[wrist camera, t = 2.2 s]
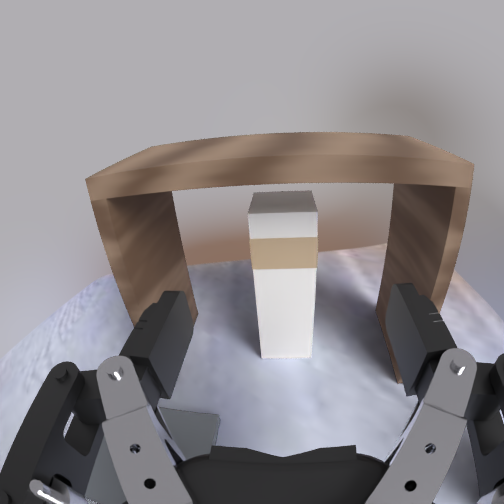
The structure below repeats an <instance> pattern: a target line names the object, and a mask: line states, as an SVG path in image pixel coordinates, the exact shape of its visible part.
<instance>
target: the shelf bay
mask: <svg viewBox="0 0 504 504" xmlns="http://www.w3.org/2000/svg"><path fill="white" fill-rule="evenodd" d="M473 171H474V164H473V163H471V162H469V161H467V160H464V159H462V158H460V157H458V156H456V155H454V154H451V153H449V152H447V151H445V150H442V149H440V148H437V147H435V146H433V145H430V144H427V143H425V142H423V141H420V140H418V139H415V138H412V137H410V136H401V135H387V134H372V133H345V132H302V133H301V132H299V133H271V134H255V135H242V136H229V137H219V138H210V139H201V140H193V141H185V142H178V143H171V144H165V145H159V146H153V147H150V148H147V149H145V150H143V151H141V152H139V153H136V154H134V155H132V156H130V157H128V158H126V159H123V160H122V161H119V162H117V163H115V164H113V165H112V166H109V167H107V168H105V169H103V170H101V171H99V172H98V173H96V174H94V175H92V176H90V177H88V178H86V179H85V180H86V184H87V188H88V192H89V196H90V200H91V204H92V208H93V211H94V215H95V218H96V222H97V225H98V229H99V232H100V235H101V239H102V242H103V245H104V248H105V251H106V254H107V257H108V260H109V263H110V266H111V269H112V272H113V275H114V277H115V280H116V283H117V285H118V288H119V291H120V293H121V296H122V299H123V301H124V304H125V306H126V309H127V311H128V313H129V316H130V318H131V321H132V323H133V325H134V327H135V325H136V323H137V322H139V318H140V316H141V315H142V313H143V311H144V310H145V309H146V308H148V307H149V306H150V305H151V304H152V303H157V302H158V300H159V299H160V297H161V295H162V293H163V292H164V291H184V293H185V295H186V298H187V302H188V305H189V309H190V312H191V316H192V319H193V327H194V324H195V321H196V318H197V315H198V311H197V307H196V303H195V299H194V294H193V290H192V286H191V282H190V278H189V273H188V269H187V264H186V260H185V255H184V251H183V246H182V241H181V237H180V232H179V227H178V222H177V217H176V212H175V206H174V201H173V196H172V191H176V190H187V189H198V188H210V187H211V188H212V187H226V186H240V185H241V186H242V185H261V184H283V183H284V184H286V183H337V182H338V183H394V190H393V201H392V211H391V221H390V229H389V236H388V243H387V250H386V257H385V263H384V269H383V275H382V280H381V286H380V291H379V296H378V301H377V306H376V310H375V311H376V314H377V317H378V320H379V323H380V326H381V329H382V332H383V335H384V338H385V341H386V345H387V348H388V351H389V354H390V358H391V361H392V365H393V368H394V372H395V376H396V379H397V383H398V384H399V383H403V381H402V378H401V375H400V371H399V368H398V364H397V361H396V358H395V355H394V352H393V349H392V345H391V342H390V339H389V336H388V333H387V330H386V324H385V318H386V312H387V308H388V303H389V298H390V293H391V288H392V286H393V284H401V283H412V284H413V285H414V286H415V288H416V290H417V292H418V294H419V295H425V296H426V297H427V298H429V299H430V300H431V301H432V302H433V303H434V305H435V306H436V308H437V310H438V313H440V311H441V308H442V305H443V302H444V299H445V296H446V293H447V290H448V287H449V284H450V281H451V277H452V274H453V271H454V267H455V264H456V259H457V256H458V252H459V248H460V244H461V240H462V235H463V231H464V227H465V222H466V217H467V211H468V206H469V200H470V194H471V187H472V180H473Z"/></svg>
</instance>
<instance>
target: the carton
mask: <svg viewBox="0 0 504 504" xmlns="http://www.w3.org/2000/svg"><path fill="white" fill-rule="evenodd" d="M317 215H318V213H317V208H316V205H315V201H314V198H313V194H312V191H281V192H257V193H254V194H253V198H252V201H251V205H250V208H249V211H248V223H249V234H250V238H249V242H250V252H251V263H252V269H253V275H254V285H255V295H256V305H257V316H258V326H259V336H260V346H261V357H262V359H296V358H311V351H312V339H313V325H314V309H315V290H316V268H317V260H318V235H317V222H318V221H317V220H318V219H317V218H318V216H317Z"/></svg>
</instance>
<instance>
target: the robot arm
mask: <svg viewBox="0 0 504 504" xmlns="http://www.w3.org/2000/svg"><path fill="white" fill-rule="evenodd" d="M385 324H386V330H387V333H388V336H389V339H390V342H391V345H392V349H393V352H394V355H395V358H396V361H397V364H398V368H399V371H400V375H401V378H402V381H403V385H404V388H405V392H406V396H412V395H417V397H418V402H417V404H416V406H415V408H414V410H413V412H412V414H411V416H410V417H409V419H408V421H407V423H406V425H405V427H404V429H403V431H402V432H401V434H400V436H399V438H398V440H397V441H396V443H395V445H394V446H393V448H392V449H391V451H390V452H389V454H388V455H387V457H386V458H385V460H384V461H381V460H379V459H377V458H375V457H372V456H369V455H364V454H359V453H356V445H351V446H341V447H329V448H319V449H315V450H312V451H308V452H304V453H300V454H296V455H292V456H287V457H278V456H274V455H270V454H266V453H262V452H258V451H255V450H251V449H247V448H236V447H224V446H214V445H212V446H211V451H210V453H209V454H203V455H198V456H195V457H192V458H189V459H187V460H186V459H185V457H184V455H183V454H182V452H181V451H180V449H179V448H178V446H177V444H176V442H175V440H174V438H173V436H172V434H171V432H170V430H169V428H168V426H167V424H166V422H165V420H164V418H163V416H162V414H161V411H160V409H159V407H158V406H157V404H158V401H159V399H160V398H164V399H171V396H172V393H173V390H174V387H175V384H176V381H177V378H178V375H179V372H180V369H181V366H182V364H183V361H184V358H185V355H186V352H187V349H188V346H189V344H190V341H191V338H192V335H193V319H192V316H191V312H190V309H189V305H188V302H187V298H186V295H185V293H184V291H164V292H163V293H162V295H161V297H160V299H159V300H158V302H157V303H152V304H151V305H150V306H149V307H148V308H146V309H145V310H144V311H143V313H142V315H141V316H140V318H139V322H137V323H136V325H135V327H134V329H133V331H132V332H131V334H130V336H129V338H128V339H127V341H126V343H125V345H124V347H123V349H122V350H121V352H120V354H119V356H114V357H110V358H108V359H107V360H105V361H104V362H103V363H102V364H101V365H100V366H99V368H98V370H89V371H79V369H78V368H77V366H76V365H75V364H74V363H72V362H62V363H59V364H57V365H56V366H55V367H53V368H52V370H51V371H50V372H49V374H48V376H47V378H46V379H45V381H44V383H43V385H42V386H41V388H40V390H39V392H38V394H37V396H36V397H35V399H34V401H33V403H32V405H31V407H30V409H29V411H28V413H27V415H26V417H25V419H24V421H23V423H22V425H21V427H20V429H19V431H18V433H17V435H16V438H15V440H14V442H13V444H12V446H11V449H10V451H9V453H8V456H7V458H6V460H5V463H4V465H3V468H2V470H1V473H0V504H88V503H87V500H86V499H85V497H84V496H85V493H86V490H87V486H88V483H89V480H90V477H91V473H92V470H93V467H94V464H95V461H96V458H97V455H98V452H99V449H100V446H101V443H102V440H103V437H104V435H105V439H106V442H107V445H108V449H109V452H110V455H111V458H112V461H113V464H114V467H115V470H116V473H117V476H118V478H119V481H120V484H121V486H122V489H123V492H124V494H125V497H126V499H127V500H126V501H125V502H123V503H122V504H435V503H433V500H434V498H435V496H436V494H437V492H438V490H439V488H440V487H441V484H442V482H443V480H444V478H445V476H446V474H447V472H448V470H449V467H450V465H451V463H452V461H453V458H454V456H455V453H456V451H457V448H458V446H459V443H460V441H461V438H462V435H463V432H464V430H465V427H466V425H467V429H468V433H469V437H470V442H471V446H472V451H473V456H474V461H475V466H476V472H477V478H478V485H479V492H480V499H479V500H478V502H477V503H476V504H504V424H503V421H502V417H501V414H500V409H501V411H502V414H503V417H504V354H502V355H500V356H499V357H498V359H497V360H496V362H495V364H491V363H479V362H476V361H475V359H474V357H473V356H472V355H471V354H470V353H469V352H467V351H465V350H463V349H459V348H457V346H456V344H455V342H454V340H453V338H452V336H451V334H450V332H449V330H448V328H447V326H446V325H445V323H444V321H443V319H442V317H441V315H440V314H439V313H438V310H437V308H436V306H435V305H434V303H433V302H432V301H431V300H430V299H429V298H427V297H426V296H425V295H419V294H418V292H417V290H416V288H415V286H414V285H413V284H412V283H401V284H393V286H392V288H391V293H390V298H389V303H388V308H387V312H386V318H385ZM71 412H72V413H73V414H74V417H73V419H72V422H71V424H70V426H69V429H68V431H67V433H66V436H65V438H64V436H63V431H64V428H65V426H66V423H67V421H68V419H69V416H70V414H71Z"/></svg>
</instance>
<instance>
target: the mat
mask: <svg viewBox="0 0 504 504" xmlns="http://www.w3.org/2000/svg"><path fill="white" fill-rule="evenodd" d="M159 409H160V411H161V414H162V416H163V418H164V420H165V422H166V424H167V426H168V428H169V430H170V432H171V434H172V436H173V438H174V440H175V442H176V444H177V446H178V448H179V449H180V451H181V452H182V454H183V455H184V457H185V459H186V460H187V459H189V458H192V457H195V456H198V455H203V454H209V453H210V451H211V446H212V445H214V446H215V443H216V438H217V433H218V427H219V422H220V418H219V415H217V414H206V413H197V412H189V411H182V410H175V409H168V408H162V407H159ZM84 497H86V498H88V499H90V500H93V501H95V502H97V503H99V504H122V503H123V502H125V501H126V500H127V499H126V497H125V494H124V492H123V489H122V486H121V484H120V481H119V478H118V476H117V473H116V470H115V467H114V464H113V461H112V458H111V455H110V452H109V449H108V445H107V442H106V439H105V435H104V437H103V440H102V443H101V446H100V449H99V452H98V455H97V458H96V461H95V464H94V467H93V470H92V473H91V477H90V480H89V483H88V486H87V490H86V493H85V496H84Z"/></svg>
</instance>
